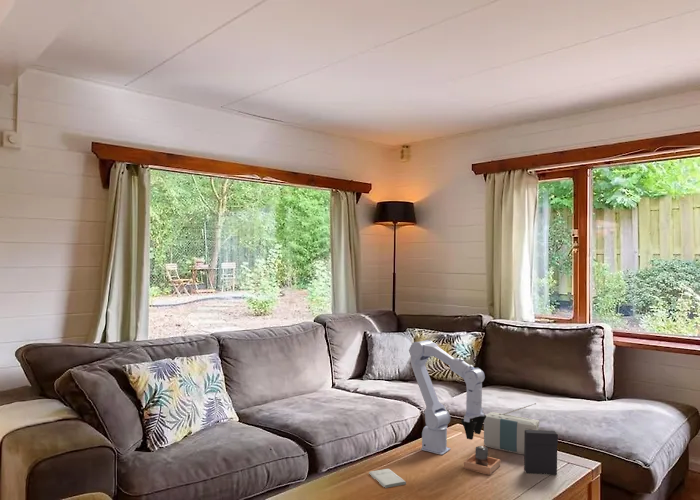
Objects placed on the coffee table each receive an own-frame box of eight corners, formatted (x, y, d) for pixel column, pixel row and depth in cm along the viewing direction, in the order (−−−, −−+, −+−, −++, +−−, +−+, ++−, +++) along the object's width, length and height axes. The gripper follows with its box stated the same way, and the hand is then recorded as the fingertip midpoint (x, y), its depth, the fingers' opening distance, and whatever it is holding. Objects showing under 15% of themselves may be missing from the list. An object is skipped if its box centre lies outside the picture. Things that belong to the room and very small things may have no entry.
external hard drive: (384, 489, 184) (368, 475, 196) (406, 486, 187) (389, 472, 199) (384, 485, 184) (368, 471, 196) (406, 481, 187) (389, 467, 199)
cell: (473, 466, 202) (474, 447, 202) (477, 462, 206) (477, 443, 206) (485, 469, 200) (486, 449, 200) (489, 465, 204) (489, 446, 204)
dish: (463, 468, 202) (463, 461, 202) (474, 460, 210) (474, 453, 210) (490, 475, 196) (490, 468, 196) (500, 466, 204) (500, 459, 204)
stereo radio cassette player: (482, 447, 224) (483, 398, 224) (490, 442, 231) (490, 394, 231) (534, 459, 212) (535, 407, 212) (540, 453, 219) (541, 403, 219)
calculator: (554, 471, 200) (554, 430, 200) (557, 476, 196) (558, 434, 196) (523, 469, 202) (523, 428, 202) (526, 474, 197) (526, 432, 197)
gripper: (476, 406, 201) (476, 443, 201) (491, 398, 213) (490, 433, 213) (458, 403, 205) (458, 439, 205) (473, 395, 217) (473, 429, 217)
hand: (473, 436), depth 209 cm, fingers open, 7 cm apart
